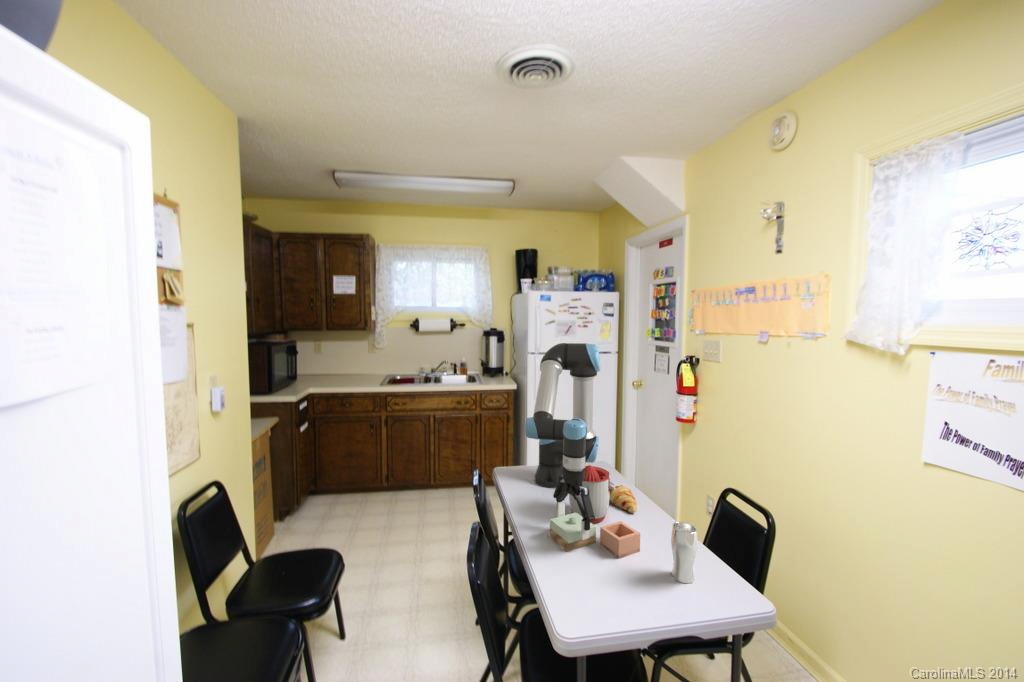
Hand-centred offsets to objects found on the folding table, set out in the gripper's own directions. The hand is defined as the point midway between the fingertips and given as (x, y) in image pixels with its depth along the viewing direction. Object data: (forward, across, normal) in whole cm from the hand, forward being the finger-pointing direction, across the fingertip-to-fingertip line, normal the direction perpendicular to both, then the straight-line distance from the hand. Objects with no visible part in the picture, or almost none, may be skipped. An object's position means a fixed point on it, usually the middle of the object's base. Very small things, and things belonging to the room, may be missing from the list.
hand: (572, 529), depth 140 cm
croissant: (+4, -14, +35) cm, 38 cm away
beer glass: (+4, +31, +17) cm, 36 cm away
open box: (+4, +11, +11) cm, 16 cm away
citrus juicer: (+4, -10, +16) cm, 20 cm away
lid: (+1, 0, 0) cm, 1 cm away
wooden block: (+4, 0, 0) cm, 4 cm away
